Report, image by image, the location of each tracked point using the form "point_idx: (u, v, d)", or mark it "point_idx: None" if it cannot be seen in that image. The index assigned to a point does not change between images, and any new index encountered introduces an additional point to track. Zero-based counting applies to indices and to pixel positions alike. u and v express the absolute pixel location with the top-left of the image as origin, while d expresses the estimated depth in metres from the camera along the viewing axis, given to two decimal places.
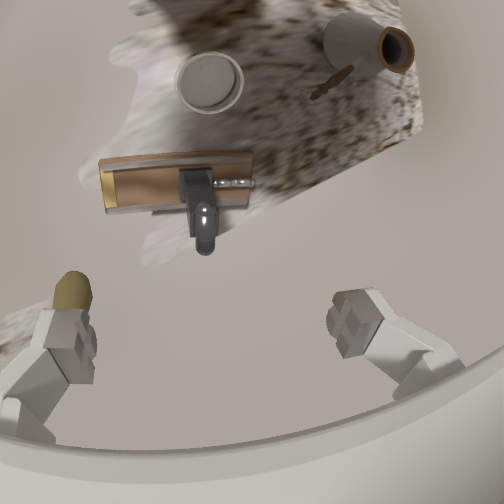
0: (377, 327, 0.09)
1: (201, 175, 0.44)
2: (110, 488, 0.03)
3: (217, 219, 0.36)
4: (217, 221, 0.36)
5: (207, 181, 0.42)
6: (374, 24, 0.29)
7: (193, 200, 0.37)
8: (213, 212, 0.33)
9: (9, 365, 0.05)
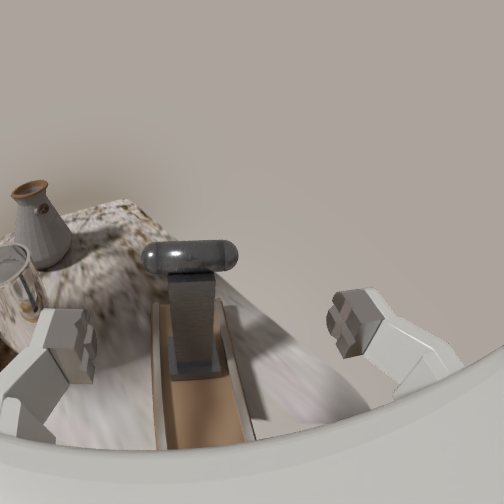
0: (377, 327, 0.09)
1: None
2: (110, 488, 0.03)
3: None
4: None
5: None
6: None
7: None
8: None
9: (9, 365, 0.05)
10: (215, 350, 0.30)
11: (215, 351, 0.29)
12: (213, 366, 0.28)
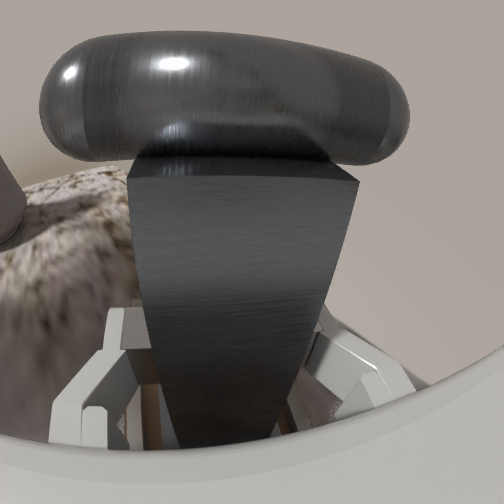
0: (315, 339, 0.08)
1: None
2: (110, 488, 0.03)
3: None
4: None
5: None
6: None
7: None
8: None
9: (82, 371, 0.06)
10: None
11: None
12: None
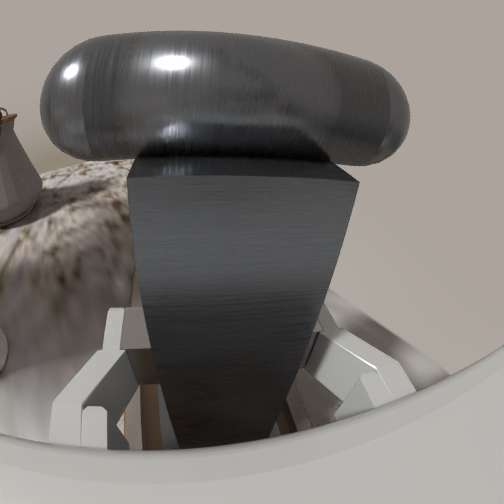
0: (314, 339, 0.08)
1: None
2: (110, 488, 0.03)
3: None
4: None
5: None
6: None
7: None
8: None
9: (82, 371, 0.06)
10: None
11: None
12: None
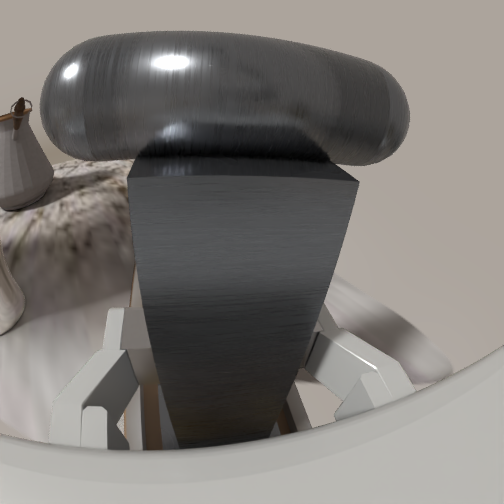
0: (314, 339, 0.08)
1: None
2: (110, 488, 0.03)
3: None
4: None
5: None
6: None
7: None
8: None
9: (82, 370, 0.06)
10: None
11: None
12: None
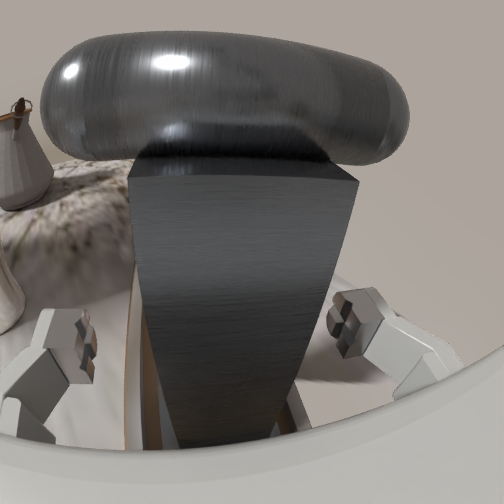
0: (377, 327, 0.09)
1: None
2: (110, 488, 0.03)
3: None
4: None
5: None
6: None
7: None
8: None
9: (9, 365, 0.05)
10: None
11: None
12: None
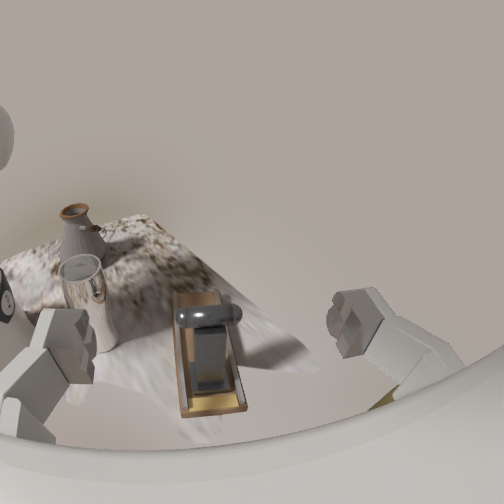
0: (377, 327, 0.09)
1: (195, 371, 0.39)
2: (110, 488, 0.03)
3: None
4: None
5: (194, 357, 0.38)
6: (63, 232, 0.54)
7: None
8: (183, 307, 0.31)
9: (9, 365, 0.05)
10: (225, 372, 0.39)
11: (225, 373, 0.39)
12: (224, 384, 0.38)
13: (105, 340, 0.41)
